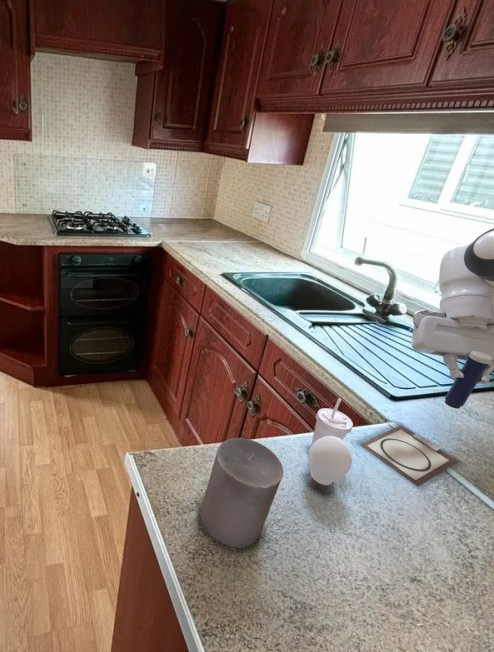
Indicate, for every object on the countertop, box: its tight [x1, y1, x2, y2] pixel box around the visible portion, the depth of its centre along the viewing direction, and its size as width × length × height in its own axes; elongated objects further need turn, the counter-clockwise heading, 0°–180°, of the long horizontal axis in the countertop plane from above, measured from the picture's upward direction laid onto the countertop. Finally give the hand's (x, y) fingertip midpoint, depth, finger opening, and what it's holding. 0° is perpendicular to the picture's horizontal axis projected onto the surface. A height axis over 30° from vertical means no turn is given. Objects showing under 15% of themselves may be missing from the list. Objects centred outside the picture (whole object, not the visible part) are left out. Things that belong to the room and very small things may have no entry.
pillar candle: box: [199, 437, 284, 549], centre depth 62 cm, size 10×10×15 cm
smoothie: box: [309, 398, 354, 450], centre depth 79 cm, size 6×6×14 cm
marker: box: [444, 351, 492, 409], centre depth 81 cm, size 3×3×12 cm
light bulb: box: [307, 436, 353, 494], centre depth 72 cm, size 7×7×11 cm
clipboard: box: [359, 424, 460, 487], centre depth 85 cm, size 12×16×1 cm
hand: (469, 380), depth 81 cm, fingers closed on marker, 3 cm apart
